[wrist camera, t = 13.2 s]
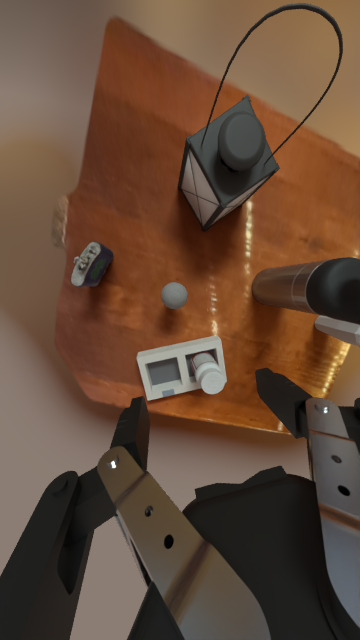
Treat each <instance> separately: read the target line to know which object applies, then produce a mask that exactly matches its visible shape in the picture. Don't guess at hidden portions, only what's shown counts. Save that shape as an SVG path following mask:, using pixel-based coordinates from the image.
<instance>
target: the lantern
mask: <svg viewBox="0 0 360 640" xmlns="http://www.w3.org/2000/svg"><path fill="white" fill-rule="evenodd" d="M292 9H307V10H310V11H313V12H316V13H319V14H320V15H322V16H323V17H325V18H326V19H327V20H328V21H329V22H330V23H331V24H332V25H333V27H334V29H335V31H336V33H337V36H338V39H339V47H340V53H339V59H338V64H337V68H336V71H335V73H334V75H333V78H332V80H331V82H330V84H329V86H328V87H327V89H326V91H325V92H324V94H323V96H322V97H321V98H320V100H319V101H318V103H317V104H316V105H315V107H314V108H313V109H312V110H311V112H310V113H309V114H308V115H307V117H306V118H305V119H304V120H303V121H302V122H301V124H300V125H299V126H298V127H297V128H296V129H295V130H294V131H293V132H292V133H291V134H290V136H289V137H288V138H287V139H286V140H285V141H284V142H283V143H282V144H281V145H280V146H279V147H278V148H277V149H276V150H275V151H274V153H273V154H272V152H271V150H270V147H269V145H268V143H267V140H266V136H265V132H264V128H263V126H262V124H261V123H260V121H259V120H258V118H257V117H256V115H255V113H254V110H253V108H252V106H251V104H250V101H251V100H250V98H249V96H248V95H246V96H245V97H243V99H242V100H241V101H240V102H239V103H237V104H236V105H234V106H233V107H232V108H230V109H229V110H227V111H226V112H225V113H223V114H222V115H221V116H219V117H218V118H216V119H215V120H214V121H212V122H211V123H209V122H210V119H211V116H212V113H213V110H214V107H215V104H216V101H217V98H218V95H219V92H220V90H221V87H222V84H223V81H224V79H225V76H226V74H227V72H228V69H229V67H230V65H231V63H232V61H233V59H234V57H235V56H236V54H237V51H238V50H239V48H240V46H241V45H242V44H243V43H244V42H245V40H246V39H247V38H248V36H249V35H250V33H251V32H252V31H253V30H254V29H255V28H257V27H258V26H259V25H260V24H261V23H262V22H263V21H264V20H266V19H267V18H269V17H271V16H273V15H275V14H278V13H280V12H282V11H285V10H292ZM342 53H343V42H342V34H341V31H340V29H339V27H338V24H337V23H336V21H335V20H334V18H333V17H332V16H331V15H330V14H328V13H327V12H326V11H325V10H323V9H322V8H320V7H317V6H313V5H310V4H306V3H298V4H289V5H284V6H282V7H280V8H278V9H276V10H274V11H272V12H269V13H268V14H266V15H265V16H264V17H263V18H262V19H261V20H259V21H258V22H257V23H256V24H255V25H254V26H253V27H252V28H251V29H250V30H249V31H248V33H247V34H246V36H245V37H244V38H243V40H242V41H241V42H240V44H239V45H238V47H237V49H236V51H235V53H234V55H233V56H232V58H231V60H230V62H229V64H228V66H227V69H226V71H225V74H224V76H223V78H222V81H221V84H220V87H219V90H218V92H217V95H216V98H215V101H214V105H213V108H212V111H211V114H210V117H209V120H208V124H207V126H205V127H204V128H203V129H201V130H200V131H198V132H197V133H196V134H194V135H193V136H191V135H190V136H189V137H188V138H186V143H185V148H184V154H183V160H182V165H181V171H180V177H179V182H178V188H179V190H181V192H182V193H183V195H184V197H185V199H186V200H187V202H188V204H189V206H190V207H191V209H192V211H193V212H194V214H195V216H196V218H197V219H198V221H199V223H200V225H201V226H202V230H203V231H206V230H207V229H208V228H210V227H211V226H212V225H213V224H214V223H216V222H217V221H219V220H220V219H221V218H223V217H224V216H226V215H227V214H228V213H230V212H231V211H233V210H234V209H236V208H237V207H238V206H239V207H240V206H242V205H243V204H244V203H245V202H246V201H247V200H248V199H249V198H250V197H251V196H252V195H253V194H254V193H255V192H256V191H257V190H258V189H259V188H260V187H261V186H262V185H263V184H264V183H265V182H266V181H267V180H268V179H269V178H270V177H271V176H273V175H274V174H275V173H276V172H277V171H278V170H279V169H280V167H279V165H278V163H276V161H275V159H274V156H273V155H274V154H275V152H276V151H277V150H278V149H279V148H280V147H281V146H282V145H283V144H284V143H285V142H286V141H287V140H288V139H289V138H290V137H291V136H292V135H293V134H294V133H295V132H296V130H297V129H298V128H299V127H300V126H301V125H302V124H303V123H304V122H305V120H306V119H307V118H308V117H309V116H310V114H311V113H312V112H313V111H314V110H315V108H316V107H317V105H318V104H319V103H320V102H321V100H322V99H323V97H324V96H325V94H326V93H327V91H328V90H329V88H330V86H331V84H332V82H333V80H334V78H335V76H336V74H337V72H338V69H339V66H340V62H341V58H342Z"/></svg>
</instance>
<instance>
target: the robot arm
mask: <svg viewBox="0 0 360 640" xmlns="http://www.w3.org/2000/svg"><path fill="white" fill-rule="evenodd" d="M252 292H253V295H254V297H255V299H256V300H257V301H258V302H260V303H262V304H266V305H271V306H275V307H281V308H286V309H291V310H296V311H301V312H306V313H312V314H317V315H322V316H327V317H329V318H332V319H336V320H341V321H346V322H350V323H354V324H358V325H360V259H357V258H350V257H348V258H338V259H332V260H324V261H317V262H311V263H304V264H297V265H290V266H283V267H276V268H269V269H265V270H263V271H261V272H260V273H259V274H258V275H257V276H256V277H255V279H254V281H253V284H252ZM255 374H256V383H257V391H258V394H259V396H260V398H261V399H262V400H263V401H264V403H265V404H266V405H267V406H268V407H269V408H270V409H271V411H272V412H273V413H274V414H275V415H276V416H277V417H278V419H279V420H280V421H281V422H282V423H283V424H284V425H285V426H286V428H287V429H288V430H289V431H290V432H291V433H292V434H293V436H294V437H295V438H296V439H297V438H300V437H305V438H306V439H307V450H308V460H309V470H310V480H309V479H307V478H304V477H301V476H297V475H292V474H286V472H285V471H284V469H283V468H282V466H277V467H273V468H270V469H266V470H263V471H260V472H258V473H257V474H255V475H254V476H252V477H251V478H249V479H248V480H246V481H245V482H244V483H242V484H229V483H228V484H227V483H215V484H212V485H208V486H204V487H201V488H197V489H195V493H196V499H195V500H193V501H192V502H191V503H190V504H188V505H187V506H186V508H185V509H184V510H183V511H182V512H181V511H180V510H179V508H178V507H177V506H176V505H175V504H174V502H173V501H172V500H171V499H170V497H169V496H168V495H167V494H166V492H165V491H164V490H163V489H162V488H161V487H160V485H159V484H158V483H157V481H156V480H155V479H154V478H153V476H152V475H151V474H150V473H149V472H148V471H146V470H147V457H148V444H149V431H150V419H149V414H148V410H147V406H146V402H145V399H144V396H142V397H137V398H133V399H132V401H131V405H130V407H129V408H125V409H124V411H123V412H122V413H121V415H120V417H119V421H118V424H117V427H116V430H115V433H114V437H113V440H112V443H111V447H110V449H109V450H108V451H107V452H106V453H104V455H103V456H102V457H101V458H100V460H99V462H98V465H97V466H96V467H95V468H93V469H92V470H90V471H88V472H86V473H84V474H82V475H81V476H79V477H78V474H77V473H76V472H75V471H68V472H65V473H63V474H61V475H60V476H58V477H57V478H55V479H54V480H53V481H52V482H51V483H50V484H49V485H48V487H47V488H46V489H45V491H44V493H43V495H42V497H41V499H40V500H39V502H38V504H37V506H36V508H35V510H34V512H33V514H32V516H31V518H30V520H29V522H28V524H27V526H26V528H25V530H24V532H23V533H22V535H21V537H20V539H19V541H18V543H17V545H16V547H15V549H14V551H13V553H12V555H11V557H10V559H9V561H8V563H7V564H6V567H5V568H4V570H3V572H2V574H1V576H0V640H69V639H70V635H71V631H72V626H73V622H74V617H75V613H76V609H77V604H78V600H79V595H80V591H81V586H82V582H83V578H84V573H85V569H86V565H87V560H88V555H89V551H90V547H91V542H92V538H93V534H94V529H95V528H97V527H98V526H100V525H101V524H103V523H104V522H106V521H107V520H109V519H110V518H112V517H113V516H114V517H115V518H116V521H117V523H118V525H119V527H120V529H121V531H122V533H123V535H124V538H125V540H126V542H127V544H128V546H129V549H130V551H131V552H132V555H133V557H134V560H135V562H136V565H137V567H138V569H139V571H140V574H141V576H142V578H143V581H144V583H145V585H146V587H147V589H148V590H147V592H146V595H145V597H144V600H143V602H142V604H141V607H140V609H139V612H138V614H137V617H136V619H135V622H134V624H133V627H132V629H131V631H130V634H129V636H128V639H127V640H360V398H357V399H356V400H355V404H354V407H343V406H342V407H340V406H337V405H335V404H334V403H333V402H331V401H329V400H326V399H323V398H316V397H312V396H311V395H310V394H308V393H307V392H306V391H304V390H303V389H301V388H300V387H299V386H297V385H296V384H295V383H293V382H292V381H291V380H289V379H288V378H287V377H285V376H283V375H281V374H278V373H273V372H272V371H271V370H270V369H268V368H263V369H258V370H256V372H255Z"/></svg>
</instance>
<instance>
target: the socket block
mask: <svg viewBox="0 0 360 640" xmlns="http://www.w3.org/2000/svg"><path fill="white" fill-rule="evenodd" d="M201 351H206V352H208V353H210V354H211V356H212V357H213V358H214V360H215V361H216V363H217V364H218V365H219V367H220V368H221V371H222V375H223V377H224V379H225V382H227V379H226V372H225V365H224V358H223V351H222V344H221V339H220V338H219V337H218V336H217V335H216V336H211V337H206V338H202V339H197V340H193V341H188V342H183V343H179V344H174V345H170V346H165V347H160V348H156V349H151V350H146V351H142V352H138V355H137V361H138V365H139V369H140V373H141V377H142V380H143V384H144V388H145V392H146V396H147V400H148V401H149V400H153V399H158V398H162V397H166V396H170V395H175V394H179V393H183V392H187V391H192V390H196V389H200V388H202V387H201V386H200V385H199V384H198V382H197V381H196V378H195V375H194V373H193V370H192V367H191V364H190V360H191V357H192V356H193V354H194V353H196V352H201Z"/></svg>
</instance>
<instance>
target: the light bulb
mask: <svg viewBox="0 0 360 640" xmlns="http://www.w3.org/2000/svg"><path fill="white" fill-rule="evenodd" d="M187 297H188V294H187V290H186V289H185V287H184V286H183V285H181V284H179V283H176V282H173V283H169V284H167V285H166V286H165V287H164V288H163V290H162V292H161V299H162V301H163V303H164V305H165V306H167V307H168V308H171V309H178V308H181V307H182V306H183V305H184V304H185V303H186V301H187Z"/></svg>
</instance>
